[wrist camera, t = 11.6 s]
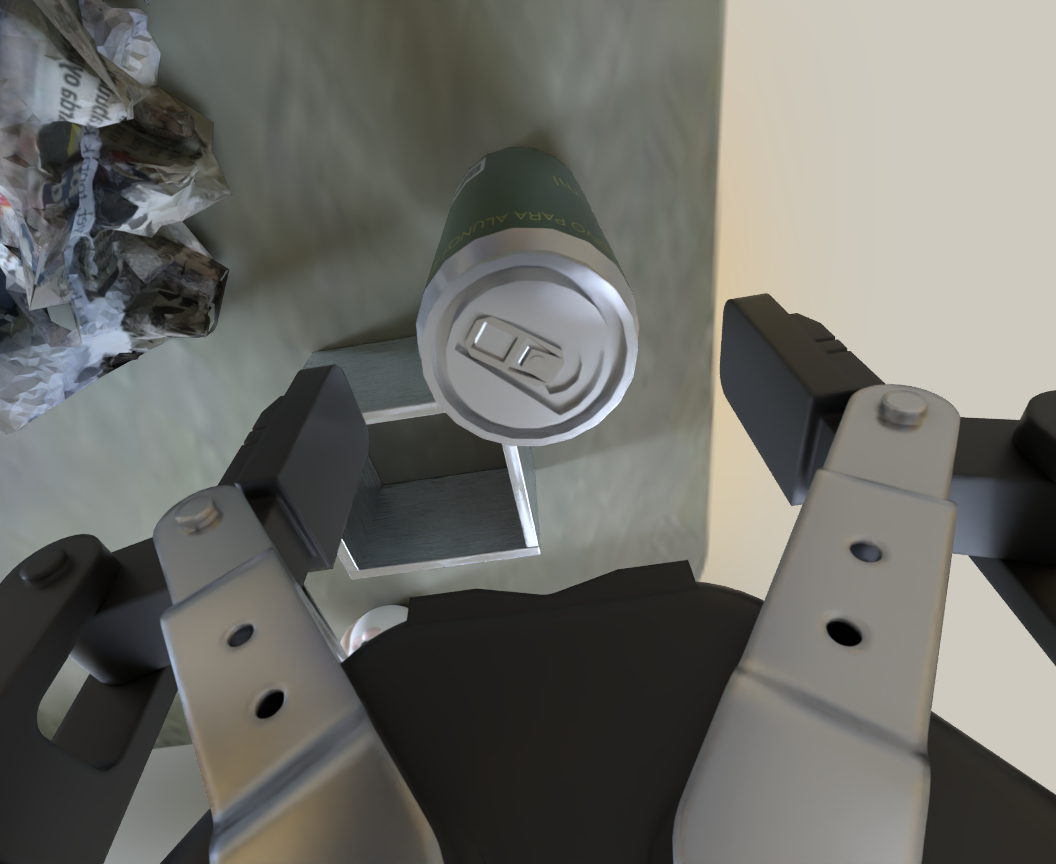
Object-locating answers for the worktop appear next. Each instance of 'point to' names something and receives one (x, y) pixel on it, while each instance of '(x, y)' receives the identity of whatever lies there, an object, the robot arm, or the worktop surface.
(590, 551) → the worktop surface
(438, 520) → the open square box
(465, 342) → the beer can
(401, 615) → the garlic bulb
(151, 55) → the foil
